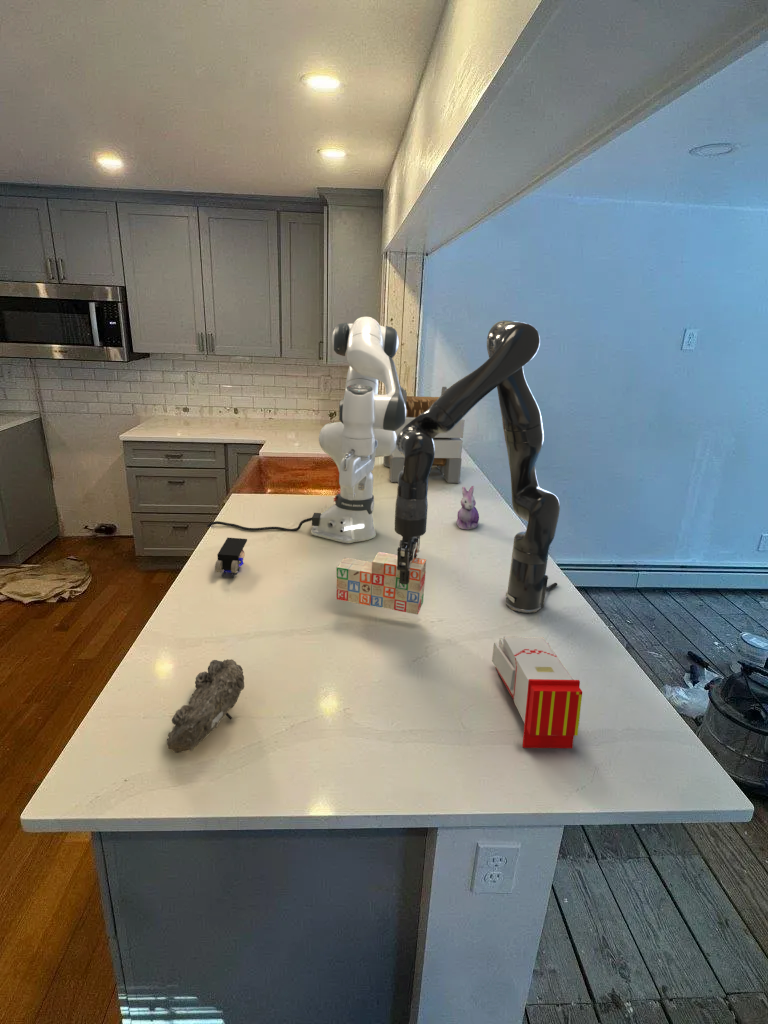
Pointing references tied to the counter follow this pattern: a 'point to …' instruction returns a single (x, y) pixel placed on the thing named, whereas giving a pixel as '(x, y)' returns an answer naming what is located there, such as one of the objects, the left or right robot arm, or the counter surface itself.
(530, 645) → the toy
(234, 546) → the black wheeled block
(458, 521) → the figurine
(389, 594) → the stack of blocks
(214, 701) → the fossil
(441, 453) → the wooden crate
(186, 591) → the counter surface
